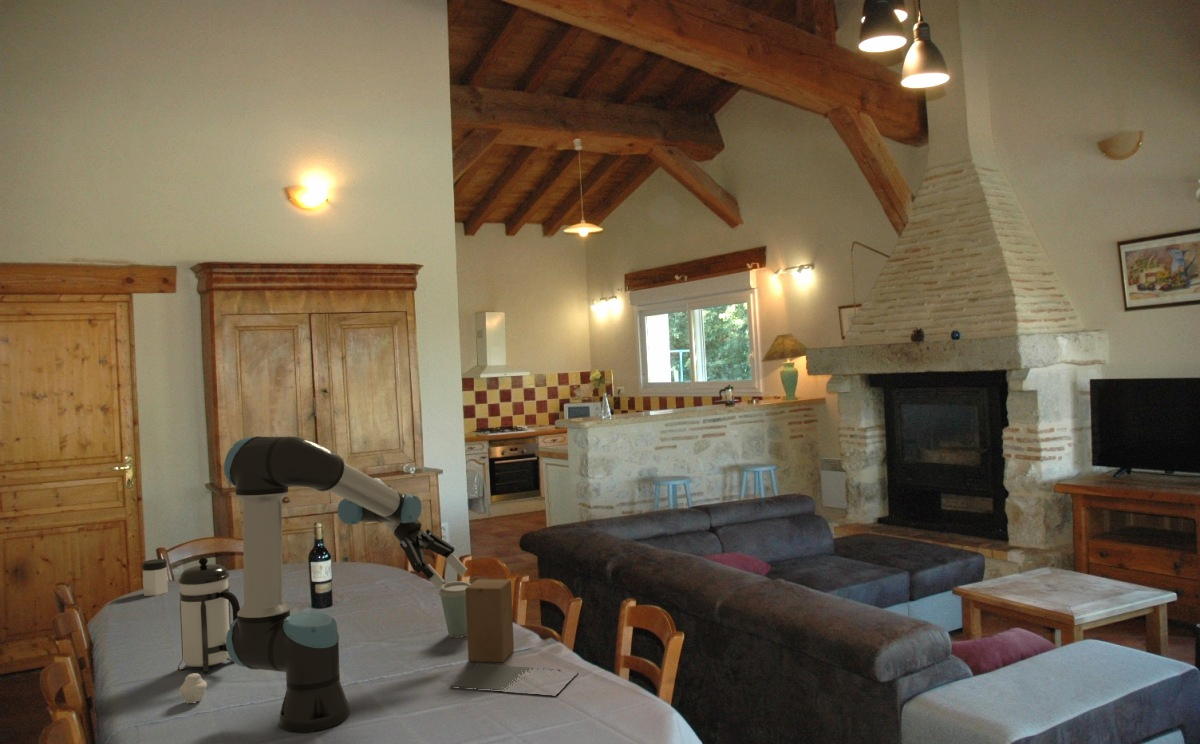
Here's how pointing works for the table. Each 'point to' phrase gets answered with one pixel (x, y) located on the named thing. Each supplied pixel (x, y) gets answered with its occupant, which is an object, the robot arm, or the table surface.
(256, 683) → the table surface
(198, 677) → the beige rounded lump
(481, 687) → the mat
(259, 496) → the robot arm
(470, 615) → the wooden block
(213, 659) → the coffee press
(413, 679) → the table surface
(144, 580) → the jar
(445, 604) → the disposable coffee cup
